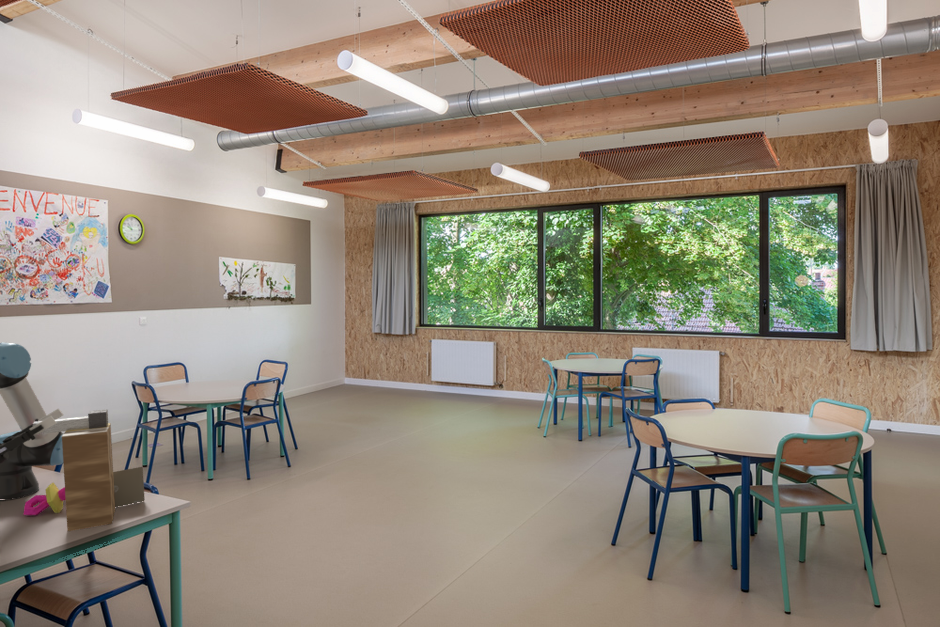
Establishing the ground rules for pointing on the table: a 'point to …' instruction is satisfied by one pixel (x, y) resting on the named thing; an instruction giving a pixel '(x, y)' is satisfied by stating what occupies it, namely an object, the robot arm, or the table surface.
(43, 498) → the toy
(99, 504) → the stand
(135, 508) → the table surface
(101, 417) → the metal block
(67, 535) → the table surface
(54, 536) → the table surface
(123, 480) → the laptop
